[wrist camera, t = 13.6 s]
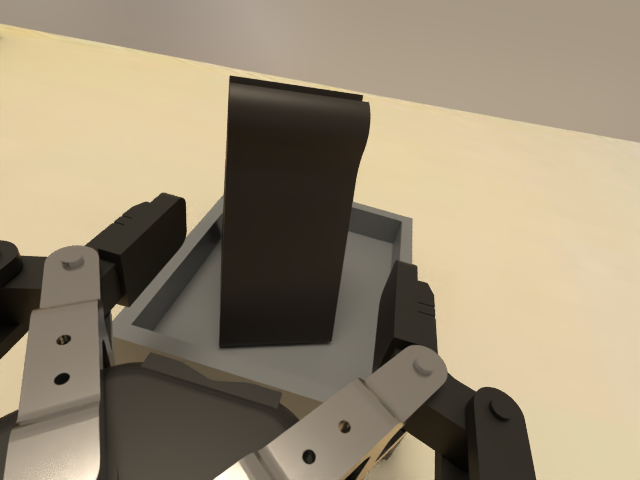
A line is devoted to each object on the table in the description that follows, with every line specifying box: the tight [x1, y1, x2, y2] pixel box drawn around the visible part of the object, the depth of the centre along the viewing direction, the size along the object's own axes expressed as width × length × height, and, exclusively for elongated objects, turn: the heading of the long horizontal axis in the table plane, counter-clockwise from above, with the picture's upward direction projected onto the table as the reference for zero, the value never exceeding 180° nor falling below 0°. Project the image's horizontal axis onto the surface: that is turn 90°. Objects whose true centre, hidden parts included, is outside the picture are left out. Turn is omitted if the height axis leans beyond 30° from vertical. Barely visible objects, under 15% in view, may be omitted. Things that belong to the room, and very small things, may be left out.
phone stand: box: [219, 76, 370, 346], centre depth 19 cm, size 9×6×12 cm, turn 11°
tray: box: [112, 195, 412, 460], centre depth 23 cm, size 14×17×3 cm
